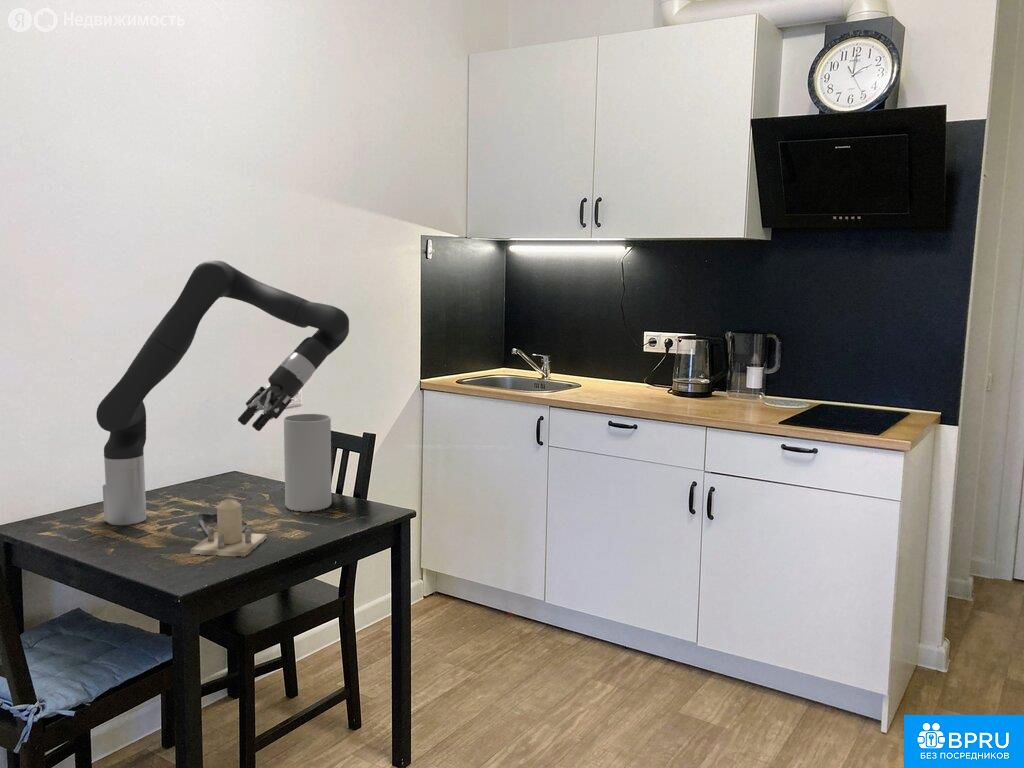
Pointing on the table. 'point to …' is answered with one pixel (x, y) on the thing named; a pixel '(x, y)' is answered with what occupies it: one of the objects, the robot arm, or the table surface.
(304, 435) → the cylinder vase
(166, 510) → the table surface
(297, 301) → the robot arm
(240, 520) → the candle
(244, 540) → the candle plate
